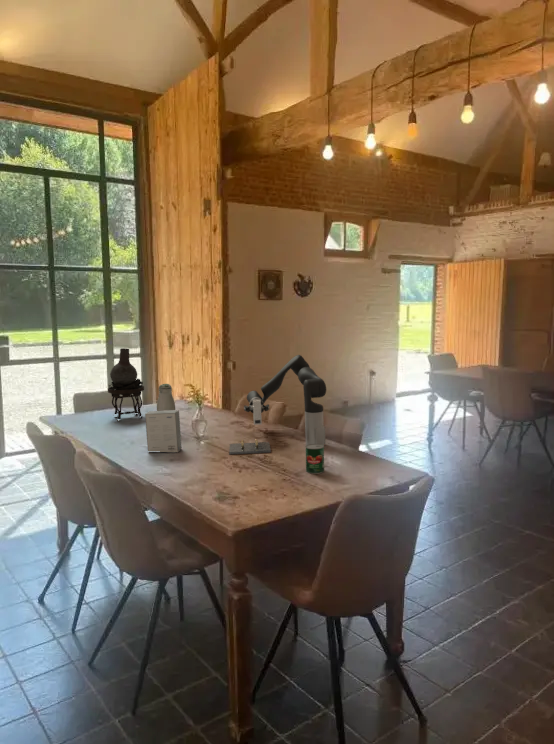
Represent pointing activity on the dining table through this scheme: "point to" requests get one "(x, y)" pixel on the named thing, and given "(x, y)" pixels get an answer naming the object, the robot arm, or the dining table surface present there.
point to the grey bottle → (165, 398)
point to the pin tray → (249, 448)
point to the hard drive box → (163, 431)
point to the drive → (257, 412)
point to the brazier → (125, 383)
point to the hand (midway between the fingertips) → (257, 410)
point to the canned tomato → (314, 458)
